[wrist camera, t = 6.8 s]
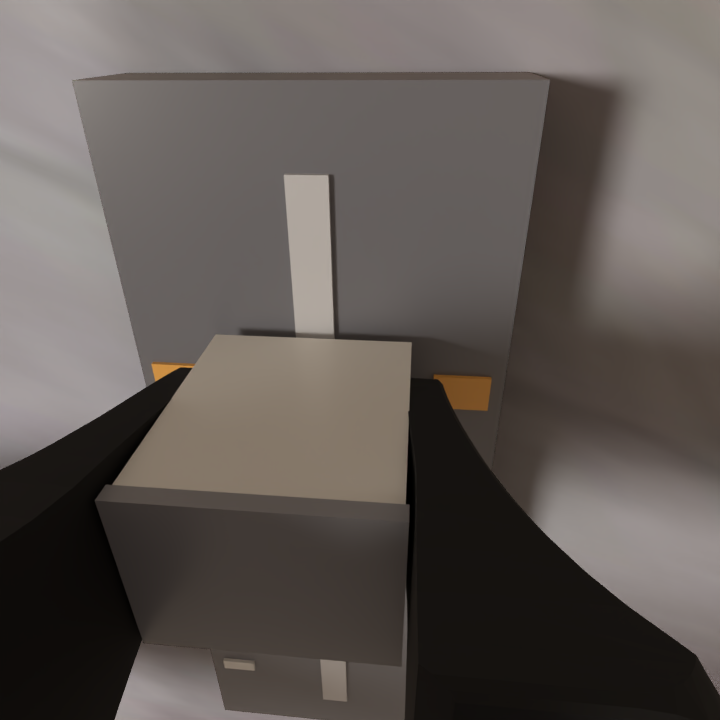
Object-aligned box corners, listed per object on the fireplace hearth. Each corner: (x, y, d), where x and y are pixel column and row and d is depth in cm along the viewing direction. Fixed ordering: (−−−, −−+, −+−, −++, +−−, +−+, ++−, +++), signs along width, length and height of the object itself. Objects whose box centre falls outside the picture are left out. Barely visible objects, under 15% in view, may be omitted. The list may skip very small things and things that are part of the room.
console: (449, 674, 21) (452, 736, 19) (240, 655, 21) (224, 712, 20) (529, 72, 10) (551, 80, 9) (125, 72, 11) (68, 80, 9)
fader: (408, 460, 13) (401, 667, 8) (231, 450, 13) (143, 642, 9) (414, 339, 11) (409, 521, 7) (212, 332, 11) (94, 500, 7)
